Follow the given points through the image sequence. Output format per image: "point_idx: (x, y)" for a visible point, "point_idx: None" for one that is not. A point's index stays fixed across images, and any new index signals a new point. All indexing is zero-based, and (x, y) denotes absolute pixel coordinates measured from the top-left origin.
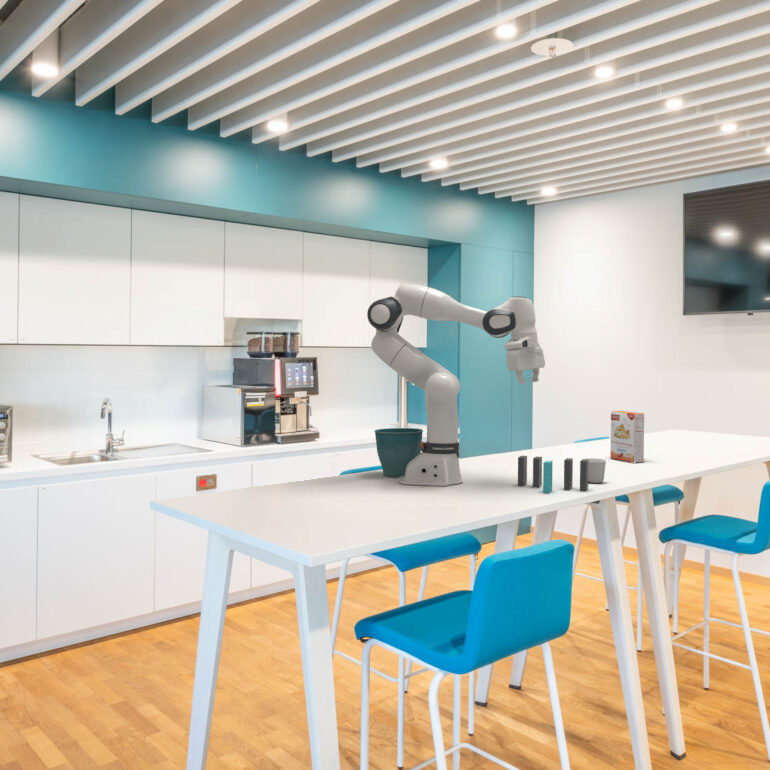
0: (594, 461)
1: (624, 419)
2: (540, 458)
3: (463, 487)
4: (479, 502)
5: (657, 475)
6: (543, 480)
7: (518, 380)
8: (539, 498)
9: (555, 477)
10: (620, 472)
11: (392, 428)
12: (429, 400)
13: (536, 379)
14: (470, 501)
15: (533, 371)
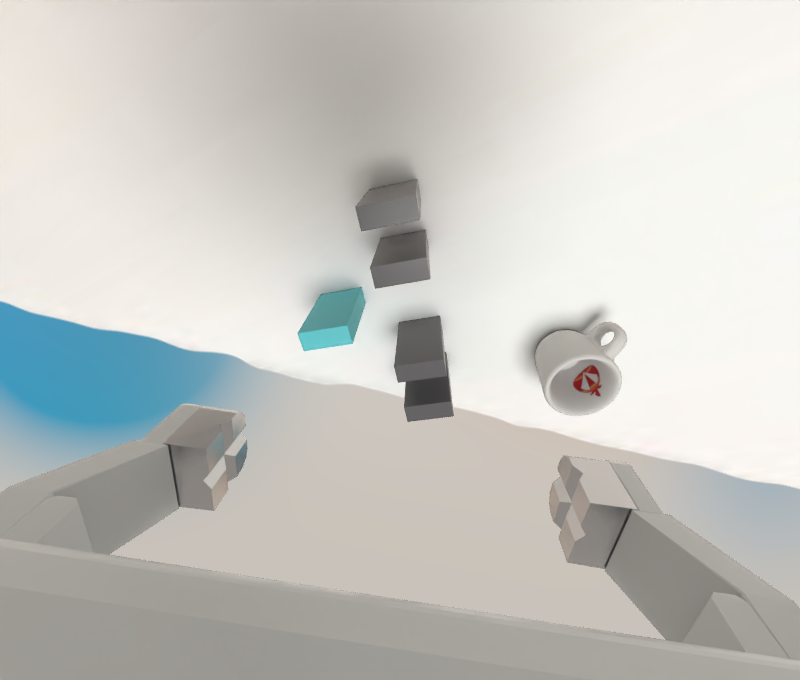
0: (546, 396)
1: None
2: (401, 282)
3: (223, 13)
4: (82, 204)
5: (743, 445)
6: (312, 309)
7: (154, 430)
8: (250, 312)
9: (606, 227)
10: (782, 363)
11: None
12: None
13: (560, 526)
14: (68, 174)
15: (704, 618)
